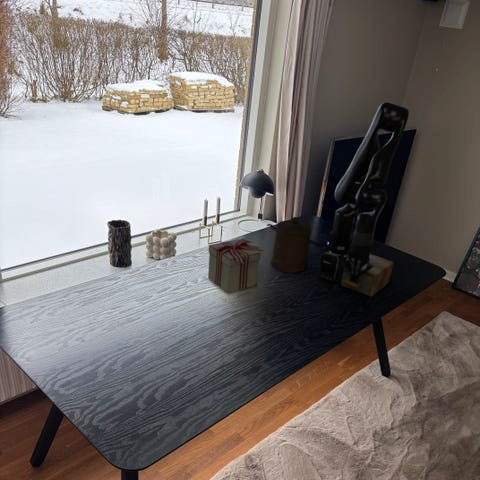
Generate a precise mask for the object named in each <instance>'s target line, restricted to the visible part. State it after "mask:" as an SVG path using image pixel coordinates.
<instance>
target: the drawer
mask: <svg viewBox="0 0 480 480" xmlns="http://www.w3.org/2000/svg"><path fill="white" fill-rule="evenodd" d="M341 277H342V278H341V282H340V286H342V287H345V288H348V289H350V290H353V291H355V292H357V293H360V294H363V295H366V296H368V297H370V296H369V295H370V293H371V289H372V285H373V280H374V276H372V275H369V274H367V273H364V274H363V275H359V279H358V282H356V283H353V282H351V281H350V278H351V272H350V271H347V269H346V267H345V266H344V268H343V272H342V276H341Z"/></svg>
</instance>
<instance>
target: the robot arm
mask: <svg viewBox="0 0 480 480" xmlns="http://www.w3.org/2000/svg"><path fill="white" fill-rule="evenodd" d="M379 105H380V106H379V107H378V109H377V110H376V113H375V115H374V116H373V119H372V122H371V123H370V126H369V129H368V131H367V132H366V135H365V137H364V138H363V140H362V143H361V144H360V146H359V148H358V149H357V151H356V153H355V155H354V157H353V159H352V161H351V163H350V164H349V167H348V169H347V170H346V171H345V174H344V175H343V176H342V177H341V179H340V180H339V182H338V184H337V185H336V188H335V191H334V199H335V202H336V203H338V204H343V205H344V204H345V205H344V206H342V207H340V208H338V209H337V210H335V214H334V220H333V224H332V225H333V226H332V231H330V233H329V237H328V239H327V240H323V241H320V242H316V241H314V240H312V239H311V238H310V239H309V243H311V244H314V245H317V246H321V245H322V244H325V247H327V250H326V251H327V253H332V254H334V255H337V256H338V257H342V258H341V259H342V262H343V264H344V267H345V266H346V269H347V271H350V272H351V278H350V281H351V282H353V283H356V282H358V279H359V275H363V274H364V273H366V272H367V271H369V270H370V269H371V268H373V267H374V265H373V264H371V263H370V262H369V261H370V258H369V255H370V254H371V251H372V247H373V242H374V238H375V237H374V236H375V230H376V225H377V221H378V219H379V216H380V214H381V212H382V210H383V209H384V207H385V205H386V203H387V200H388V194H387V192H386V191H385V190H384V189H379V188H374V187H379V186H383V185H385V184H386V182H387V179H388V176H389V172H390V168H391V164H392V161H393V158H394V156H395V153H396V151H397V149H398V146H399V144H400V141H401V139H402V136H403V134H404V131H405V129H406V126H407V122H408V120H409V115H410V111H409V109H408V108H407V107H405V106H402V105H399V104H397V103H396V104H395V103H393V102H390V101H383V102H382V103H381V104H379ZM379 130H382V131H385V132H389V133H392V135H391V138H390V139H389V140H388V141H387V143H386V144H384V145H383V146H382V147H381V145H380V140H379ZM363 178H365V179H364V181H363V182H362V184H361V183H360V182H358V181H360V180H362V179H363ZM359 208H365V209H370V210H372V211H370V212H362V213H361V212H360V213H359ZM358 213H359V214H358ZM356 217H357V218H356ZM272 226H274V225H273V224H271V223H268V224H266V227H271V228H273V229H274V230H277V226H274V227H272ZM350 262H351V263H350ZM366 264H367V265H366ZM364 265H366V269H364V270H363V271H361V269H362V267H363V266H364Z"/></svg>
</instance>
